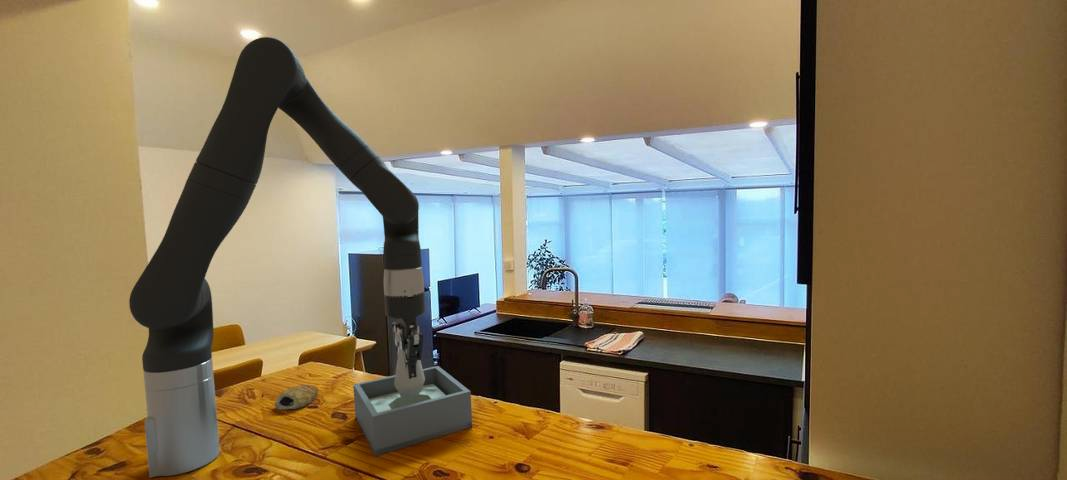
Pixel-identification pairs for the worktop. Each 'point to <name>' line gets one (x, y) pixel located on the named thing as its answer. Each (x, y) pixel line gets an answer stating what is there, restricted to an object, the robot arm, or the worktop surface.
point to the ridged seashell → (296, 397)
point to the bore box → (411, 411)
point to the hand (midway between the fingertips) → (409, 377)
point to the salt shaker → (407, 376)
